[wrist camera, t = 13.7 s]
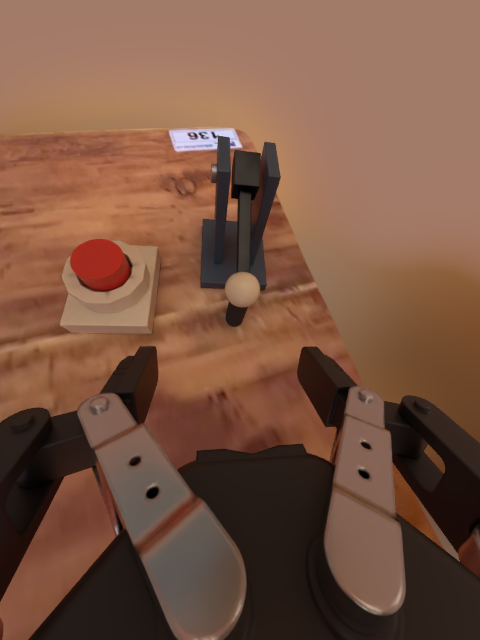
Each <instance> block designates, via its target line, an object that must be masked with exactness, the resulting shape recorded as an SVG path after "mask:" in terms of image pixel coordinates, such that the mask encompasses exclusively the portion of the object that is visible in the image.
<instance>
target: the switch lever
mask: <svg viewBox="0 0 480 640" xmlns="http://www.w3.org/2000/svg"><path fill="white" fill-rule="evenodd" d="M260 158H261V154H260V153H255V152H246V151H238V150H235V152H234V158H233V165H232V187H231V198H235V199H238V220H237V264H236V273H235V274H233V275H232V276H230V277H229V279H228V280H227V282H226V284H225V295H226V297H227V299H228V301H229V302H230V303H231V304H233V305H235V306H237V307H248V306H250V305H252V304H253V303H255V302H256V300H257V299H258V297H259V294H260V285H259V282H258V280H257V279H256V277H255V276H253V275H252V274H250V240H251V200H254V199H255V197H256V194H257V192H258V190H259V187H260Z"/></svg>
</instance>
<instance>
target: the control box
mask: <svg viewBox="0 0 480 640" xmlns="http://www.w3.org/2000/svg"><path fill="white" fill-rule="evenodd" d="M109 241H112V242H114V243H116V244H117V245H118V246H119V247H120V248H121V250H122V251H123V253H124V255H125V257H126V259H127V261H128V263H129V265H130V275H129V277H128V279H127V280H126V282H125V283H124V284H123V285H121V286H120V287H118V288H116V289H113V290H109V291H97V290H94V289H91V288H89V287H88V286H87V285H86V284H85V283H84V282H83V281H82V280H81V279H80V278H79V277H78V276H77V275H76V273H75V272H74V271H73V270H72V268H71V265H70V258H71V256H70V257H69V258H68V259H67V260H66V263H65V267H64V270H63V273H62V279H63V282H64V284H65V286H66V289H67V291H68V293H69V294H68V297H67V301H66V304H65V308H64V311H63V314H62V318H61V321H60V326H62V327H63V328H65V329H67V330H68V331H70V332H72V333H124V334H152V332H153V323H154V315H155V307H156V298H157V290H158V282H159V273H160V265H161V257H160V253H159V250H158V247H155V246H139V245H129V244H127V243H125V242H123V241H116V240H109ZM83 243H85V242H83Z"/></svg>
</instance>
